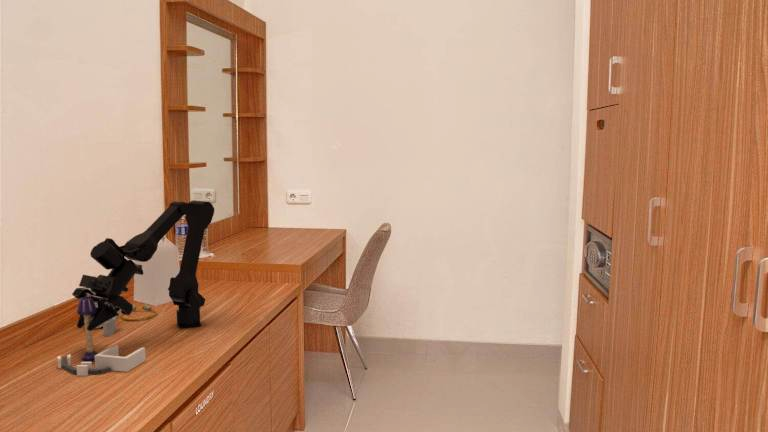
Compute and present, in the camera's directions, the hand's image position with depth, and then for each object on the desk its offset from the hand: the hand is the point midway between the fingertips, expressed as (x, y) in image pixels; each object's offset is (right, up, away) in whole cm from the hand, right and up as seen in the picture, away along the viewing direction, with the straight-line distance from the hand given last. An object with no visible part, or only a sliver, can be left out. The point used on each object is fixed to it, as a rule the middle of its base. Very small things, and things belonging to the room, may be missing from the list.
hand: (83, 328), depth 157 cm
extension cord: (-2, -4, +42) cm, 42 cm away
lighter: (-3, -6, +23) cm, 24 cm away
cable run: (+2, -9, -3) cm, 10 cm away
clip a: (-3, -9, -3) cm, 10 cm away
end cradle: (+11, -9, -1) cm, 14 cm away
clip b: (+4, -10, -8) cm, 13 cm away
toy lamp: (+1, -9, +2) cm, 9 cm away
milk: (-3, -1, +60) cm, 60 cm away
